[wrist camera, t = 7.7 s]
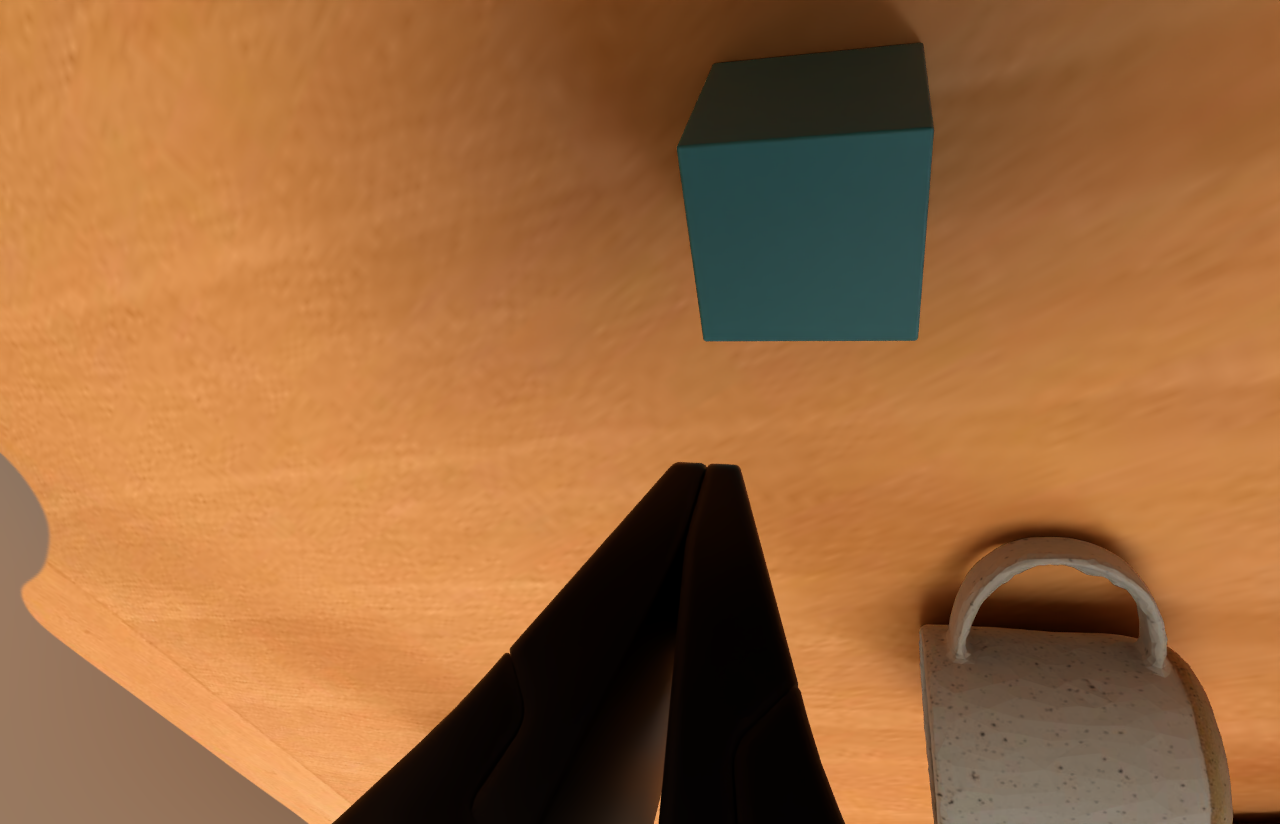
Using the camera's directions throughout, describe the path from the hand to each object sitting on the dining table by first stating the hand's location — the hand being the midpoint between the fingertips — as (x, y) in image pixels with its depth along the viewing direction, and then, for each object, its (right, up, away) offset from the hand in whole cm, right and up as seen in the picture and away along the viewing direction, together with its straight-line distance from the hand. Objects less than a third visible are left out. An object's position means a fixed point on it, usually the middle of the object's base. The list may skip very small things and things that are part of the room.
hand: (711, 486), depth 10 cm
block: (+3, +7, +8) cm, 11 cm away
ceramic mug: (+13, -7, +18) cm, 23 cm away
